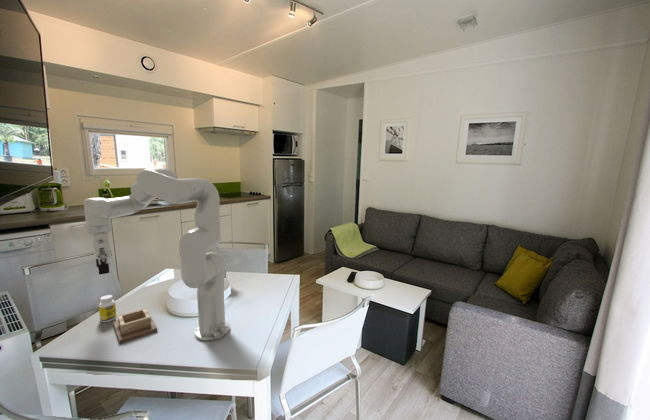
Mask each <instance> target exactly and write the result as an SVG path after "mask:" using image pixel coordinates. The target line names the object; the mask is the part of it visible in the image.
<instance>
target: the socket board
mask: <svg viewBox="0 0 650 420" xmlns="http://www.w3.org/2000/svg"><path fill="white" fill-rule="evenodd" d="M113 328H114V330H115V334H116V337H117V341H118V343H119V345H120V344H123V343H127V342H129V341H133V340H134V339H138V338H141V337H145V336H148V335H151V334H154V333H157V332H158V327H157V325H156V324H155V322H154V319H153V318H152V315H150V312H149V311H148V310H147V308H146V307H144V308H141V309H137V310H134V311H130V312H127V313H123V314H120V315H117V320H115V321H113Z"/></svg>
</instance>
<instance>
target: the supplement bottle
mask: <svg viewBox="0 0 650 420" xmlns="http://www.w3.org/2000/svg"><path fill="white" fill-rule="evenodd" d="M98 312H99V321H100V322H101V323H108V322H111V321H113V320H115V319H116V318H117V309H116V301H115V300H114V298H113V295H112V294H106V295H103V296H101V297H100V302H99V304H98Z"/></svg>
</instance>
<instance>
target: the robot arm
mask: <svg viewBox="0 0 650 420" xmlns="http://www.w3.org/2000/svg"><path fill="white" fill-rule="evenodd" d="M130 193H131V194H129V195H126V196H121V197H113V198H106V197H90V198H89V197H88V198H85V199H84V201H83V207H84V218H85V228H86V234H87V235H90V236H91V237H90V238H91V245H92V250H93V254H94V255H93V256H94V258H95V264H96V268H98V275H105V274H110V265H109V260H108V258H111V257H112V252H111V245H110V243H111V241H110V235H109V233H111V232H112V230H111V229H112V228H111V226H112V225H111V219H115V218H120V217H125V216H129V215H133V214H135V213H137V212H139V211H141V210H143V209H145V208H146V207H147V206H149V205H150V204H151V202H152V201H155V200H156V199H159V200H162V201H166V202H168V203H171V204H175V205H183V204H188V203H193V202H196V207H195V211H194V228H193V229H190V230H188V231H185V232H184V234H182V236H181V237H180V240H179V244H178V252H179V253H178V254H179V255H178V256H179V269H180V277H181V279H182V282H183V284H184V285H185V286H187V287H188V288H190V289H196V294H197V296H196V297H197V298H196V299H197V300H196V301H197V316H198V317H197V318H198V326H197V327H196V328H195V330H194V337H195V338H196V339H197V340H200V341H209V342H210V341H214V340H219V339H221V338H222V337H224V336H225V335H226V334H228V333H229V331H230V324H229V323H228V322H227V321H226V316H225V315H226V311H225V310H226V309H225V289H224V275H225V270H226V262H225V261H226V260H225V258H224V256H223V255H222V254H221V253H219V252H218V253H217V251H216V252H215V251H213V250H215V249H216V248H217V247H218V246H219V245H220V244H221V238H222V237H221V235H222V234H221V217H220V215H221V214H220V205H221V204H220V194H219V191H218V189H217V187H216V186H215V185H214V183H212V182H211V181H209V180H207V179H205V178H202V177H201V178H199V177H188V178H179V176H178V174H177V173H176V172H175V171H174V170H172V169H171V168H163V167H161V168H159V167H157V168H155V167H154V168H153V167H152V168H145V169H142V170H141V171H139V173H138V174H137V175H136V177H135V182H134V183H132V185H130Z"/></svg>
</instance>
